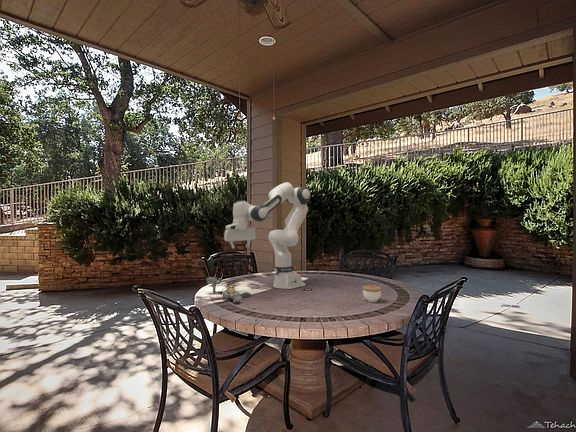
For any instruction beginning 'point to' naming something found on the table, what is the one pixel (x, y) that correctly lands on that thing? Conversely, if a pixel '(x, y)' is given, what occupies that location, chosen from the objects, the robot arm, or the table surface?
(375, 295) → the lidded jar
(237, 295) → the chain ends
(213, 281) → the mechanical component
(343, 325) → the table surface
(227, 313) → the table surface
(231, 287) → the brass pin
